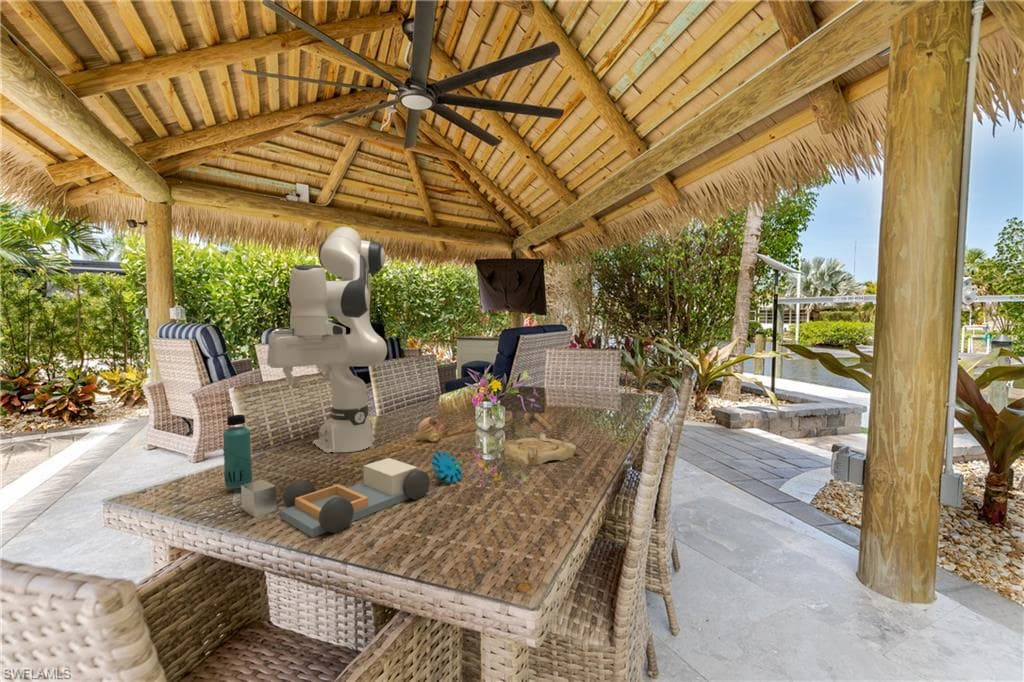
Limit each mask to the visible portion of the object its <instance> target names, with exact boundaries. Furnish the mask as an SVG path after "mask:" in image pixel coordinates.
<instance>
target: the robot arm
mask: <svg viewBox="0 0 1024 682" xmlns="http://www.w3.org/2000/svg"><path fill="white" fill-rule="evenodd" d="M317 254H318V255H317V256H318V260H319V265H318V264H304V265H303V264H301V265H300V264H299V265H295V266H294V267H292V269H291V273H290V278H289V280H290V281H289V282H290V283H289V302H290V305H291V308H290V309H291V310H290V314H289V328H284V329H281V328H276V329H274V330H273V331H271V332H270V333H269V334H268V336H267V339H268V340H267V343H268V348H267V358H266V359H267V360H266V361H267V363H266V364H267V365H268V366H269V367H270V368H273V369H282V372H283V374H284V375H285V377H286V378H287V385H288V386H291V387H292V386H297V385H298V378H297V377H294V376H293V374H292V372H294V367H296V368H297V367H308V366H318V367H319V368H321V370H322V371H323V372H324V374H322V381H323V382H326V383H327V382H328V383H329V384H330V387H331V395H332V397H331V398H332V406H331V407H329V408H328V409H329V412H330V413H329V414H330V415H329V418H328V419H327V420H326V421H324V423H323V424H322V425H321V426H320V428H319V431H318V438H316V439H314V440H312V445H314V444H315V445H316V446H315V445H314V446H315V447H316V448H318V447H319V448H320V450H321V449H322V450H323V451H322V450H321V451H322V452H323V453H325V452H326V454H331V453H330V452H333V453H354V452H359V451H364V450H367V449H368V447H369V448H371V447H372V446H373V445H372V443H373V444H374V442H375V440H376V438H375V437H374V436H373V431H372V421H371V418H369V405H368V404H367V403H368V402H367V401H368V399H367V385H366V382H365V381H364V380H363V379H361V377H359V376H356V375H354V374H353V373H352V372H351V370H350V367H371V366H376V365H380V364H382V363H383V362H384V361H385V359H386V358H387V357H386V356H387V355H388V346H387V343H386V341H385V340H384V338H383V337H382V336H380V334H378V333H377V332H376V331H375V330H374V328H373V326H372V324H371V321H370V305H371V304H370V303H371V293H372V292H371V279H370V276H371V278H373V277H375V276H376V274H378V273H379V272H380V271H381V270H382V269H383V268H384V265H385V262H386V252H385V249H384V246H383V245H382V243H380V242H378V241H375V240H374V241H373V240H364V239H361V236H360V234H359V232H358V231H356V230H355V229H354V228H352V227H350V226H340V227H338V228H335V230H333V231H332V232H331V233H330V234H329V235H328V236H327V238H326V240H323V241H322V242H321V243H320V245H319V247H318V253H317ZM326 271H328V272H329V273H330V274H331V275H334V276H336V277H341V278H340V280H327V276H326V275H327V274H326ZM329 317H336V318H335V319H337V321H338V322H339V323H340V324H341V325H340V324H336V323H333V322H331V321H329ZM342 325H344V326H345V327H344V326H342ZM346 327H348V328H349V329H350V333H347V330H346V329H347V328H346ZM370 446H371V447H370ZM319 448H318V449H319ZM366 448H367V449H366ZM363 449H364V450H363Z"/></svg>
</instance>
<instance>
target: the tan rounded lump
mask: <svg viewBox="0 0 1024 682" xmlns="http://www.w3.org/2000/svg"><path fill="white" fill-rule="evenodd" d="M437 425H440V420H434V419H433V416H430V417H426V418H424V419H422V420H421V421H420V423H419V424H418V427H417V433H415V434H414V435H413V437H414V439H415V441H416V440H418V441H430V442H431V443H435V442H438V441H439V440H440V438H441V437H442V435H441V434H440V432H441V430H442V428H441V426H438V427H439V428H438V429H436V427H437Z"/></svg>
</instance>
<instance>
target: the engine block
mask: <svg viewBox="0 0 1024 682" xmlns="http://www.w3.org/2000/svg"><path fill="white" fill-rule="evenodd" d="M240 494H241V510H243V511H244V512H246V513H247V514H249V515H250V516H252V517H253V518H257V517H260V515H261V516H264V515H267V514H269V512H270V513H272V511H273V512H276V511H277V510H278V509H277V508H278V506H277V486H276V484H273V483H271V482H269V481H267V480H265V479H258V480H256V481H252V482H251V483H247V484H244V485H241V487H240ZM275 510H276V511H275ZM266 513H267V514H266ZM263 514H264V515H263Z"/></svg>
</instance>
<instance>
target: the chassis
mask: <svg viewBox="0 0 1024 682" xmlns="http://www.w3.org/2000/svg"><path fill="white" fill-rule="evenodd" d="M430 480H431V479H430V477H429V474H428V473H427V472H425V471H424V470H423V471H422V470H420V469H418V467H417V466H414V465H412V464H408V463H406V462H403V461H400V460H397V459H394V458H392V457H391V458H390V457H387V458H384V457H381V456H377V457H373V458H372V459H371V460H370V461H369V462H368V463H367V464H364V465H363V482H362V483H358V484H356V485H352V486H350V487H349V486H348V487H345V486H343V485H342V484H338V483H337V484H335V485H331V486H329V487H325V488H323V489H318V490H317V489H316V486H315V485H314V484H313V483H311V482H309V481H307V480H304V479H298V480H295V481H293V482H292V483H290V484H289V485H288V486H287V488H286V489H285V491H284V493H283V497H282V500H283V504H284V506H285V507H286V508H284V509H281V510H280V517H281V520H283V521H284V522H286V523H288V524H289V525H290V526H293V527H294V528H296V529H297V528H298V529H297V530H299V531H301V532H302V533H304V534H305V535H307V536H308V537H310V538H311V539H312V538H316V537H318V536H321V535H323V534H326V533H332V534H333V533H334V534H337V533H340V532H343V530H345V529H346V528H347V527H348V526H349V525H350V522H351V523H353V522H355V520H356V521H358V520H360V518H361V519H363V518H365V516H366V517H368V516H370V515H369V514H371V515H373V514H375V513H374V512H376V513H378V512H380V511H379V510H381V511H383V510H385V508H386V509H388V508H391V507H393V506H395V505H394V504H396V505H398V504H400V502H401V503H403V502H405V500H406V501H408V500H410V498H411V500H415V501H417V499H418V500H420V499H422V498H423V497H424V496H425V495H426V494H427V493H428V492H430V484H431V482H430ZM427 491H428V492H427ZM407 499H408V500H407ZM402 501H403V502H402ZM397 503H398V504H397ZM392 505H393V506H392ZM390 506H391V507H390ZM387 507H388V508H387ZM382 509H383V510H382ZM377 511H378V512H377ZM372 513H373V514H372ZM367 515H368V516H367ZM362 517H363V518H362Z"/></svg>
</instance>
